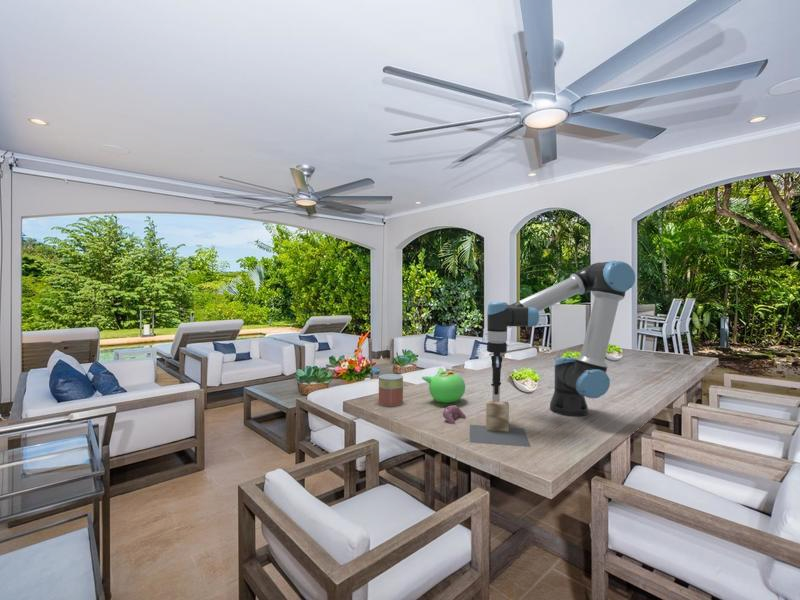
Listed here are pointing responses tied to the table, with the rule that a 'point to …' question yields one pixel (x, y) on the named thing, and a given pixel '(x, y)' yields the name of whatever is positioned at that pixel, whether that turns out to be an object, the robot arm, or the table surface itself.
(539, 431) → the table surface
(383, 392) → the canned food
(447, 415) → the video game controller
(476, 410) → the table surface
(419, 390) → the table surface
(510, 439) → the rubber mat
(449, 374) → the toy bird
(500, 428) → the oak tile
